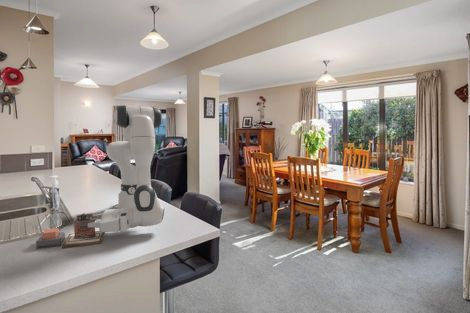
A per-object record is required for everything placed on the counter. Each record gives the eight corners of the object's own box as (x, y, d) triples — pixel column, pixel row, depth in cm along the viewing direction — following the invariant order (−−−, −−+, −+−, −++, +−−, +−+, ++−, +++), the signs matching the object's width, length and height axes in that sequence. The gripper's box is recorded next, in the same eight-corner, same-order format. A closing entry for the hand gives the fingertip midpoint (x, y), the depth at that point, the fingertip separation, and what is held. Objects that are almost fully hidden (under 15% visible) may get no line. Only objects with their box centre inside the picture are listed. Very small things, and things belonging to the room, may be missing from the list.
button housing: (42, 241, 116) (42, 234, 115) (65, 238, 118) (64, 231, 118) (36, 249, 108) (35, 241, 108) (60, 246, 111) (59, 238, 110)
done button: (46, 236, 114) (45, 229, 114) (58, 235, 116) (58, 228, 115) (43, 240, 110) (42, 233, 110) (55, 239, 112) (55, 231, 111)
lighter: (73, 239, 115) (71, 215, 114) (75, 236, 118) (74, 213, 117) (94, 237, 117) (93, 214, 116) (96, 234, 120) (95, 211, 119)
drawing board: (69, 236, 121) (69, 233, 121) (104, 232, 125) (104, 229, 125) (61, 248, 109) (61, 245, 108) (101, 243, 113) (101, 241, 113)
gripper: (126, 204, 131) (93, 207, 126) (124, 217, 112) (85, 221, 107) (126, 217, 132) (93, 220, 127) (124, 233, 112) (86, 237, 108)
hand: (89, 221), depth 117 cm, fingers open, 8 cm apart
